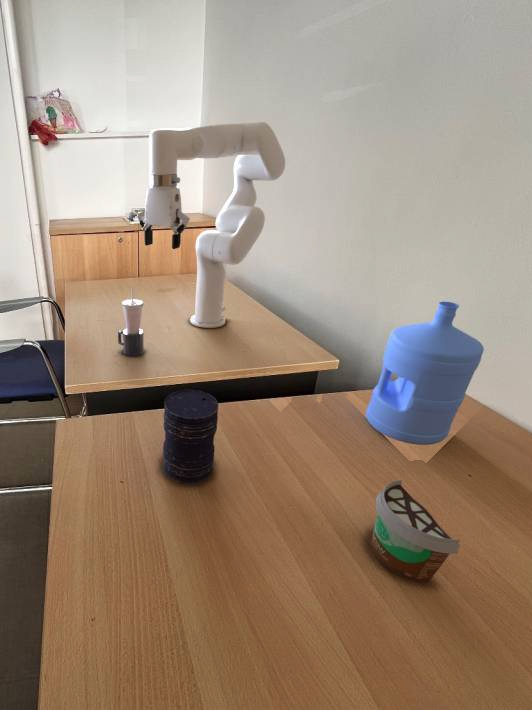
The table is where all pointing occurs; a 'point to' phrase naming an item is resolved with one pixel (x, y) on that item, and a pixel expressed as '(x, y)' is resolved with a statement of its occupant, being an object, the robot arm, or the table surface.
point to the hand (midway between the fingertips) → (162, 246)
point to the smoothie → (132, 314)
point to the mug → (132, 342)
